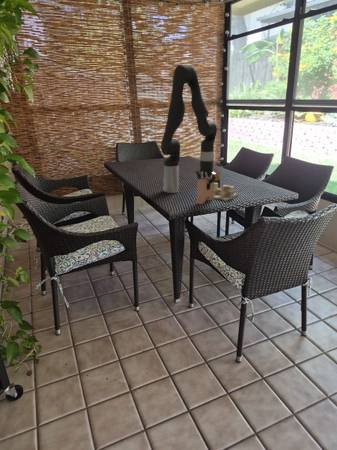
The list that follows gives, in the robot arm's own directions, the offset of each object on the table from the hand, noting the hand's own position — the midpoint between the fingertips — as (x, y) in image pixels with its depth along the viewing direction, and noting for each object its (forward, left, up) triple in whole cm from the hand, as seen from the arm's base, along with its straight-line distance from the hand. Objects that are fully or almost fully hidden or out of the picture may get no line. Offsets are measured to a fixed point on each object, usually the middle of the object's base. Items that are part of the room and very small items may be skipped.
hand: (205, 188), depth 181 cm
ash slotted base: (0, +15, -8) cm, 17 cm away
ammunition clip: (-13, +26, -8) cm, 30 cm away
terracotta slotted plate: (0, 0, -8) cm, 8 cm away
